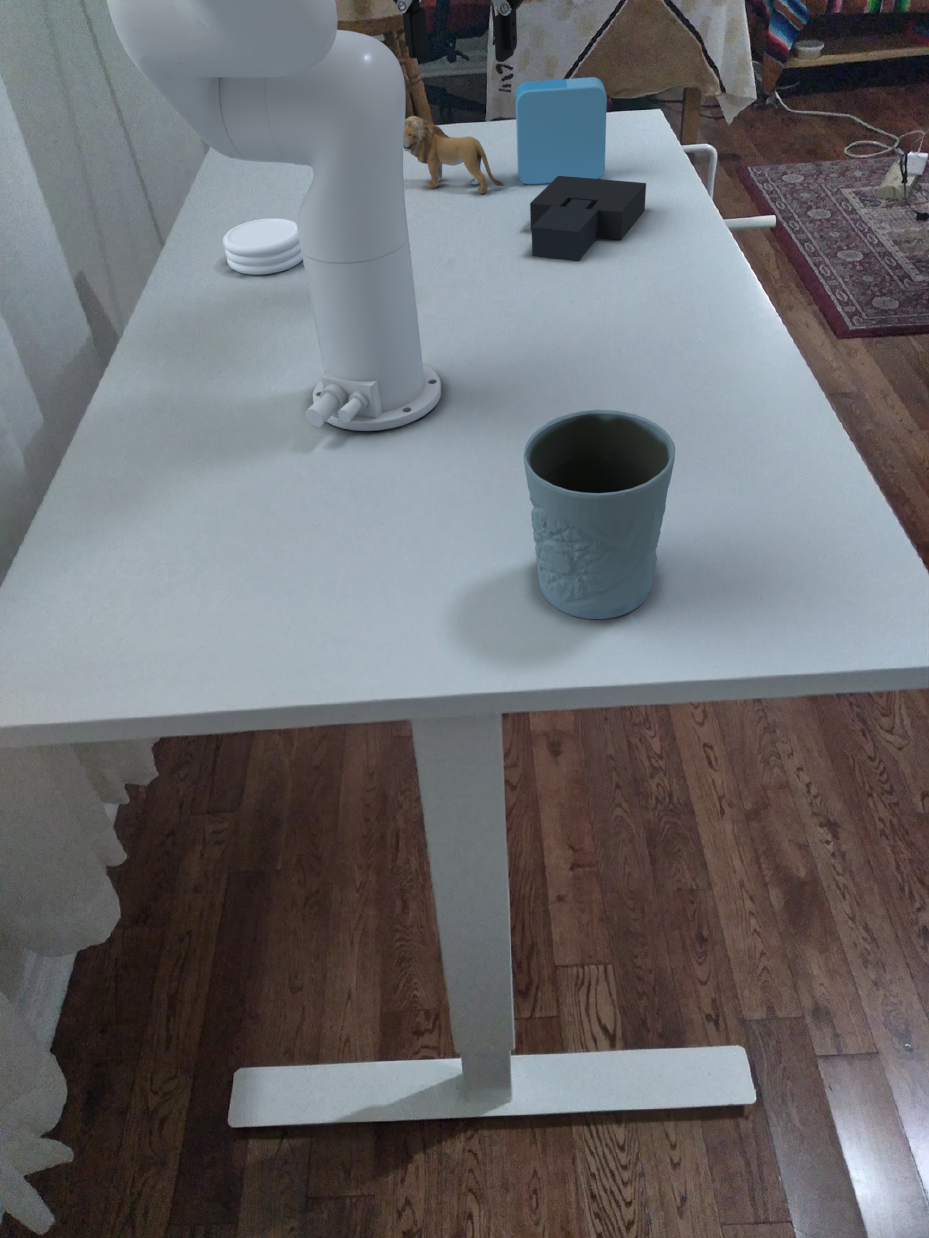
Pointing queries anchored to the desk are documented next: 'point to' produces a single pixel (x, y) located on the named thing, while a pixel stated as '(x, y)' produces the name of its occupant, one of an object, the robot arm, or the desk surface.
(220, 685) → the desk surface
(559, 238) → the pad
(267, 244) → the coaster
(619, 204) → the notch pad
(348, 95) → the robot arm
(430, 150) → the lion figurine
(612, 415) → the embossed blue-grey cup
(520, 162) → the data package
